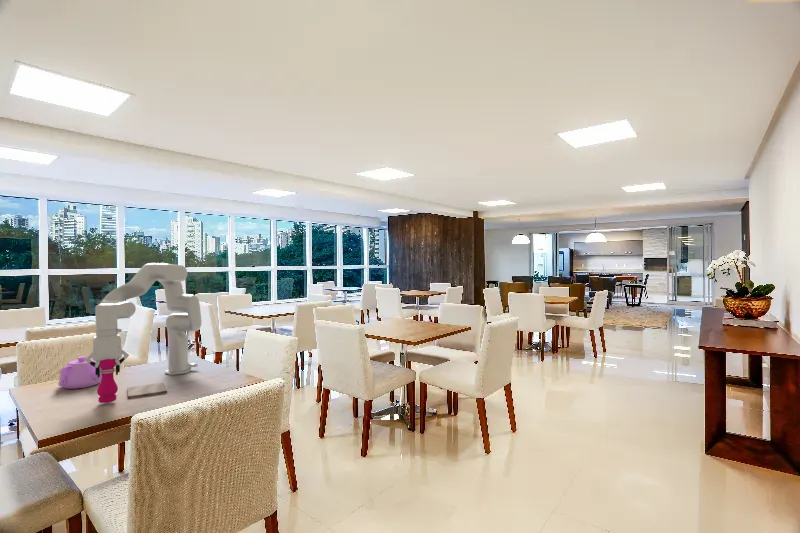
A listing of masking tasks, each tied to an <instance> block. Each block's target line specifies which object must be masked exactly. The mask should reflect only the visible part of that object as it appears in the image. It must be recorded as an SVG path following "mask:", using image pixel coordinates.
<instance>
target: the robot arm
mask: <svg viewBox="0 0 800 533" xmlns="http://www.w3.org/2000/svg"><path fill="white" fill-rule="evenodd" d="M187 277H188V269H187V268H186V267H185V266H184V265H181V264H175V263H174V264H173V263H172V264H171V263H168V262H167V263H165V262H160V263H159V262H157V263H156V262H151V263H150V262H149V263H145V264H144V265H142V266H141V268H140V269H139V270H137V272H136V273H135V275H133V277H132V278H131V280H130V281H128V282H127V283H125V284H121V286H118V287H117V288H115V289H113V290H111V291H110V292H109V293H107V294H106V296H104V298H102V300H101V301H100V303H99V304H96V305H95V309H94V310H95V312H94V313H95V336H94V337H93V341H92V351H91V353H90V354H89V355H88V356H86V359H85V361H86V362H87V363H89V364H90V365H92V366H93V367H95V372H96V375H98V377H100V367H99V363H100V361H102V360H105V359H115V361H116V365H115V376H117V375H119V373H120V372H121V367H120V365H121V364H122V363H124V362H125V360H126V359H128V358H129V356H130V354H129V353H127V352H126V351H125V350H124V349H123V348H122V338H121V334H119V333H122V328H118V320H119V319H127V318H128V319H129V318H131V317H132V316H134V314H135V313H136V310H137V309H136V305H135V304H134V302H132V301H128V300H129V299H134V298H138V297H141V296H143V295H145V294H146V293H147V292H148V291H149V290H150V289H151V287H152V286H153V285H154V284H155V282H159V283H160V284H161V285H162V286H163V290H164V295H165V303H166V307H167V309H168V311H170V312H174V313H171V314H170V315H168V316H167V318H166V320H165V325H166V326H165V327H166V330H167V342H168V343H167V348H168V350H167V352H168V353H167V354H168V355H167V356H168V357H167V361H168V362H167V363H168V364H167V365H168V366H167V368H168V369H166V370H165V371H164V374H166V375H170V376H171V375H173V376H175V375H183V374H187V373H190V372H192V368H196V367H198V362H192V363H191V362H189V337H188V335H187V333H186V332H198V331H199V330H200V329H201V326H202V313H201V305H200V300H199V297H198V296H197V295H195V294H192V293H191V294H190V293H184V288H183V283H182V282H184V281H185V280H186V279H187ZM175 312H176V313H175ZM122 355H123V356H122ZM90 359H93V360H94V361H96V363H95V362H93V361H91V360H90Z"/></svg>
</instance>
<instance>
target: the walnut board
mask: <svg viewBox="0 0 800 533" xmlns="http://www.w3.org/2000/svg"><path fill="white" fill-rule="evenodd" d="M165 394H168V389H167V387H166V384H165V382H159V383H157V382H156V383H151V384H144V385H137V386H135V385H134V386H128V387H127V399H128V400H132V399H137V398H145V397H151V396H157V395H165Z"/></svg>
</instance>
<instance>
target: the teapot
mask: <svg viewBox="0 0 800 533" xmlns="http://www.w3.org/2000/svg"><path fill="white" fill-rule="evenodd" d="M76 358H77V359H75V360H71V361H69V362H68V363H67V364H66V365H65V366H62V368H61V369H60V370H59V374H60V375H59V379H58V384H57V385H58V386H59V387H62V388H64V389H71V390H72V389H78V388H81V389H84V388H88V387H92V386H95V385H99V384H100V382H101V379H102V373H100V377H98V375H96V372H95V367H93V366H92V365H90V364H89V363H87V362H86V361H85V359H86V358H87V356H84V355H83V356H78V357H76ZM90 360H91V361H93V362H95V363H96V361H94V360H93V358H91V359H90ZM100 370H101V368H100ZM100 372H101V371H100Z"/></svg>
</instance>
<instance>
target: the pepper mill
mask: <svg viewBox="0 0 800 533" xmlns="http://www.w3.org/2000/svg"><path fill="white" fill-rule="evenodd" d="M99 367H100V368H101V370H100V371H101V372H100V373H102V379H101V381H100V382H99V383H98V386H97V390H96V394H97V395H98V396H99V397H98V404H99V403H101V404H107V403H112V402H115V401H116V400H117V392H118V390H119V388H118V384H117V382H116V381H115V379H114V372H116V361H115V359H105V360H102V361H100V363H99Z"/></svg>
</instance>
